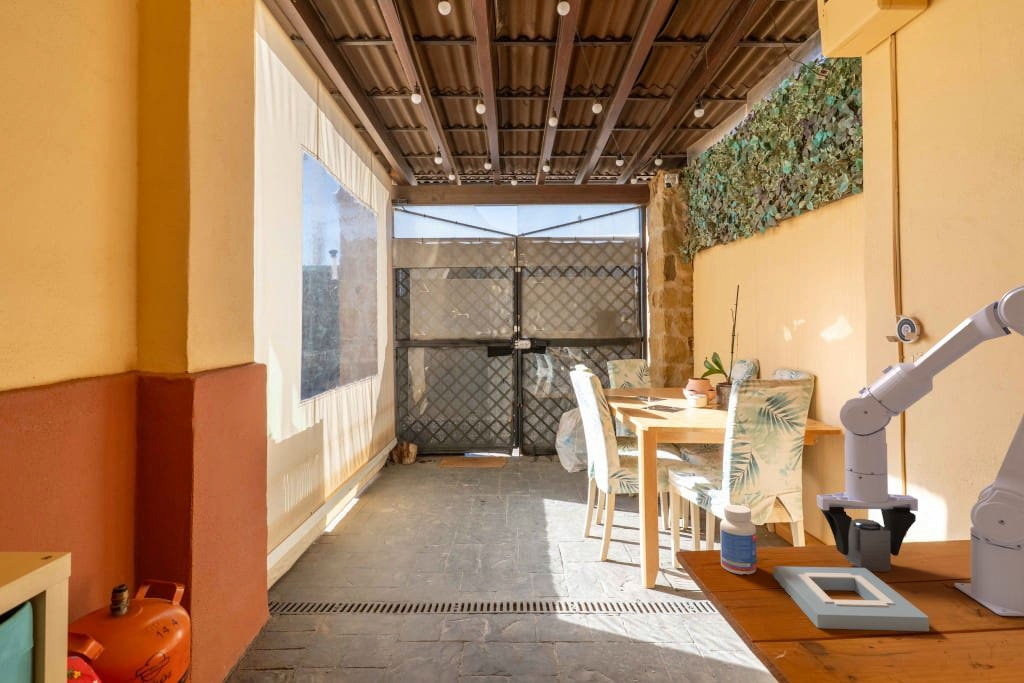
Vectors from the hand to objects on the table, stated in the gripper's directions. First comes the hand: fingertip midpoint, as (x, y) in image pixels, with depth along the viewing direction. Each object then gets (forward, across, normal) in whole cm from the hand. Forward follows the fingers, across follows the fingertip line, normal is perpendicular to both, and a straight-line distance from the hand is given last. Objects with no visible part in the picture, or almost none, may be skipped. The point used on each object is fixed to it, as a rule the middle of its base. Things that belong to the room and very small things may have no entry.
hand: (867, 552), depth 83 cm
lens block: (+2, 0, 0) cm, 2 cm away
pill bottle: (+2, +21, +2) cm, 21 cm away
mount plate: (+2, +10, +12) cm, 16 cm away
